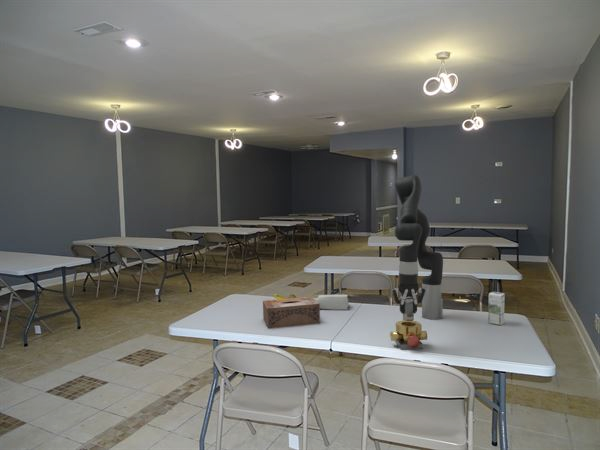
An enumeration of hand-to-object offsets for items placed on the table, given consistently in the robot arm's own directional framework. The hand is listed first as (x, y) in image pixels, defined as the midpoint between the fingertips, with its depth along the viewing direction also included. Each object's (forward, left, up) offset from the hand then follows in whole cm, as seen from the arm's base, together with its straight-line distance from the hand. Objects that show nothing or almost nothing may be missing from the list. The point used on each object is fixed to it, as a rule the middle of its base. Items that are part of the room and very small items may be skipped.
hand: (408, 312), depth 169 cm
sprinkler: (+53, -66, -14) cm, 86 cm away
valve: (0, +1, -14) cm, 14 cm away
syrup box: (-49, -25, -14) cm, 57 cm away
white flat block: (+28, -66, -14) cm, 73 cm away
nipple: (0, 0, -3) cm, 3 cm away
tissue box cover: (+49, -36, -14) cm, 62 cm away
